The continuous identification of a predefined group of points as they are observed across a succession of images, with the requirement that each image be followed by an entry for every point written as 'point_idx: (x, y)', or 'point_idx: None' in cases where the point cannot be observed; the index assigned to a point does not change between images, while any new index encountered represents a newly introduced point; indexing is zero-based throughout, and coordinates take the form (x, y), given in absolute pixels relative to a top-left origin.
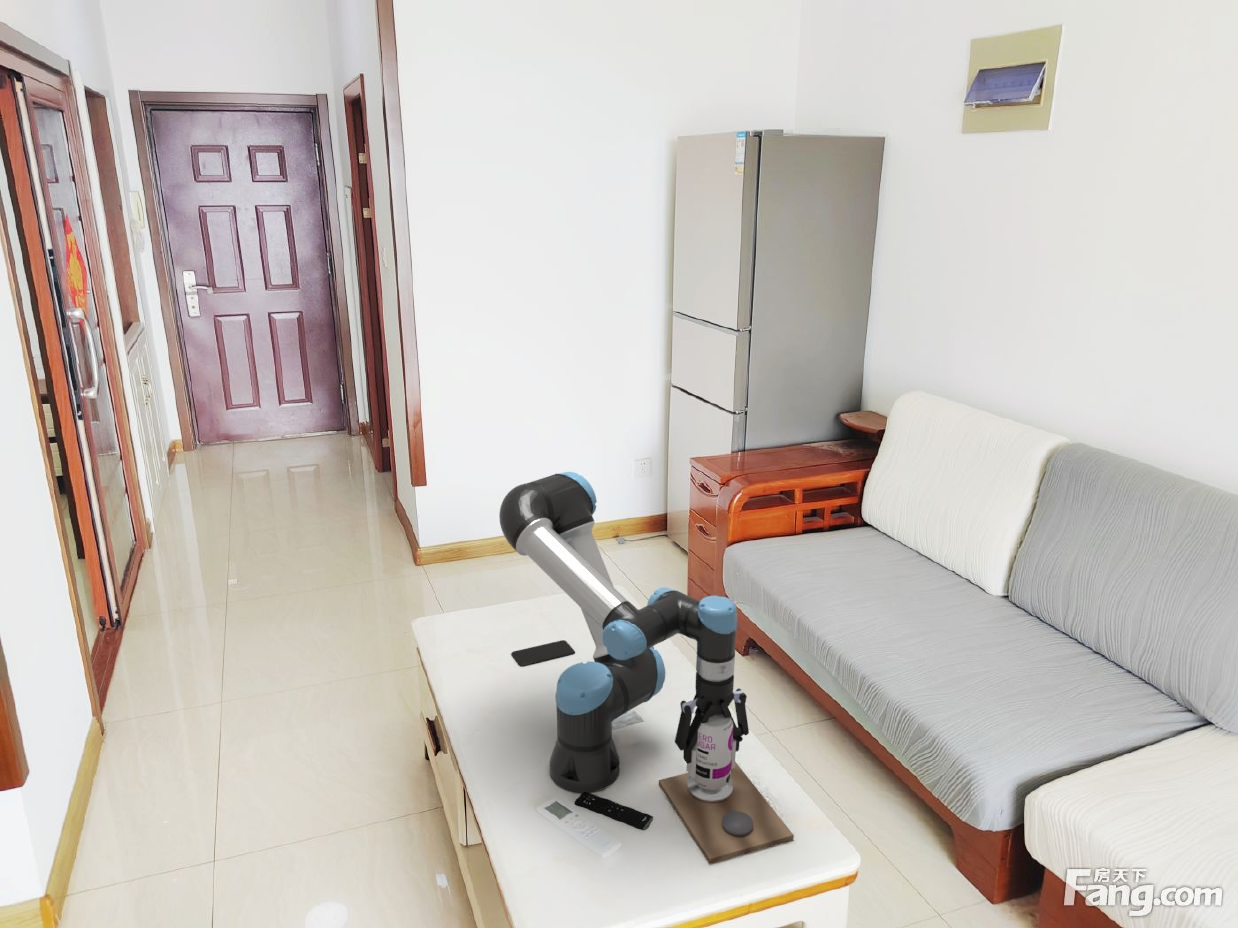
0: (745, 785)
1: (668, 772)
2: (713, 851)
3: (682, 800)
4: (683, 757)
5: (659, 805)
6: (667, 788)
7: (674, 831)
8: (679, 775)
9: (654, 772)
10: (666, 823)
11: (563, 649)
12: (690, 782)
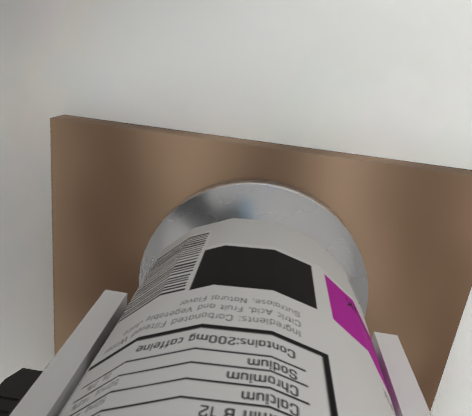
0: (409, 346)
1: (149, 52)
2: None
3: (96, 290)
4: (2, 385)
5: (17, 234)
6: (66, 193)
7: (20, 369)
8: (163, 139)
9: (82, 15)
10: (7, 326)
11: None
12: (167, 242)
